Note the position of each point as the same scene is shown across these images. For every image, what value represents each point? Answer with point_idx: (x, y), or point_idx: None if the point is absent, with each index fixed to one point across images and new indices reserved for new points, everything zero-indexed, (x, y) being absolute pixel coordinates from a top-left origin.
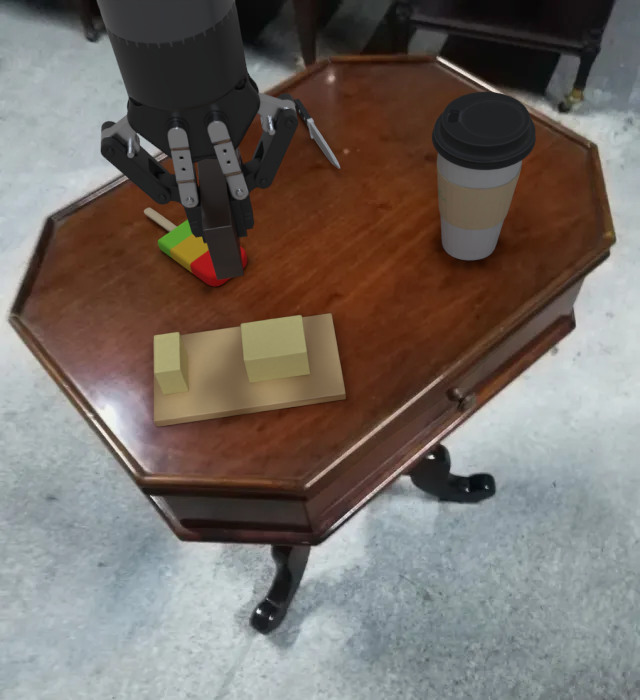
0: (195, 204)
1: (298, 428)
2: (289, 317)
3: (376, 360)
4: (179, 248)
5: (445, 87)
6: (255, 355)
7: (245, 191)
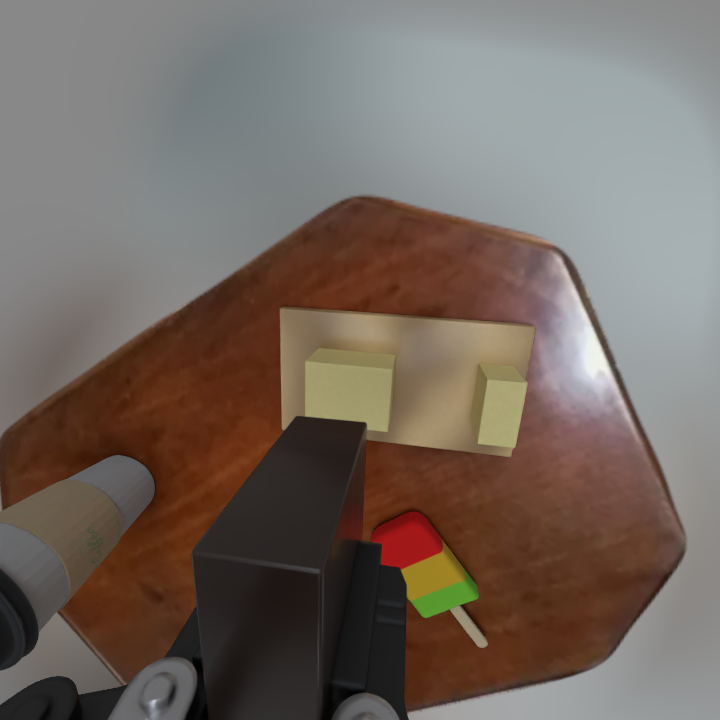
0: (349, 705)
1: (347, 277)
2: None
3: (242, 353)
4: (452, 577)
5: (134, 674)
6: (375, 373)
7: (134, 693)
